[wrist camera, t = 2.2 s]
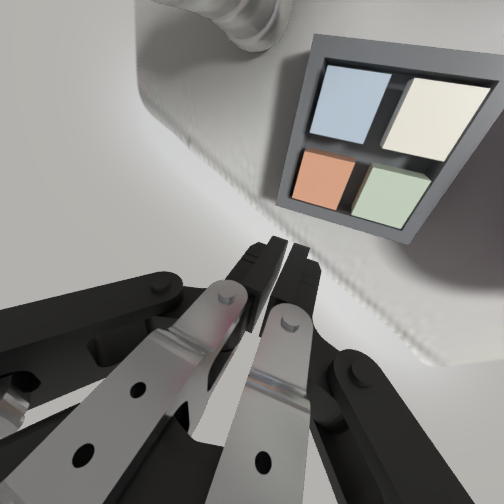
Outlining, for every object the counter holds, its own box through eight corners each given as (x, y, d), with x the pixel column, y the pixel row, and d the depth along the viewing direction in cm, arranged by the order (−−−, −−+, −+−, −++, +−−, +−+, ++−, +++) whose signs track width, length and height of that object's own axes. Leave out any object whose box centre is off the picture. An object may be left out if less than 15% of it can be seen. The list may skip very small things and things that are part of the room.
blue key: (330, 69, 18) (327, 65, 16) (387, 78, 17) (391, 74, 15) (313, 130, 21) (309, 132, 19) (362, 140, 20) (362, 144, 18)
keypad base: (321, 47, 20) (314, 33, 16) (500, 69, 17) (538, 59, 13) (285, 193, 28) (275, 205, 25) (400, 226, 25) (408, 245, 22)
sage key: (371, 161, 20) (373, 167, 18) (423, 173, 19) (431, 181, 17) (351, 205, 23) (351, 214, 21) (396, 218, 22) (400, 228, 20)
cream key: (407, 81, 17) (414, 77, 15) (474, 91, 16) (490, 88, 14) (379, 144, 19) (382, 148, 18) (434, 155, 19) (443, 161, 17)
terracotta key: (309, 147, 22) (304, 151, 20) (355, 157, 21) (355, 163, 19) (297, 190, 24) (292, 197, 22) (337, 201, 23) (335, 210, 21)
